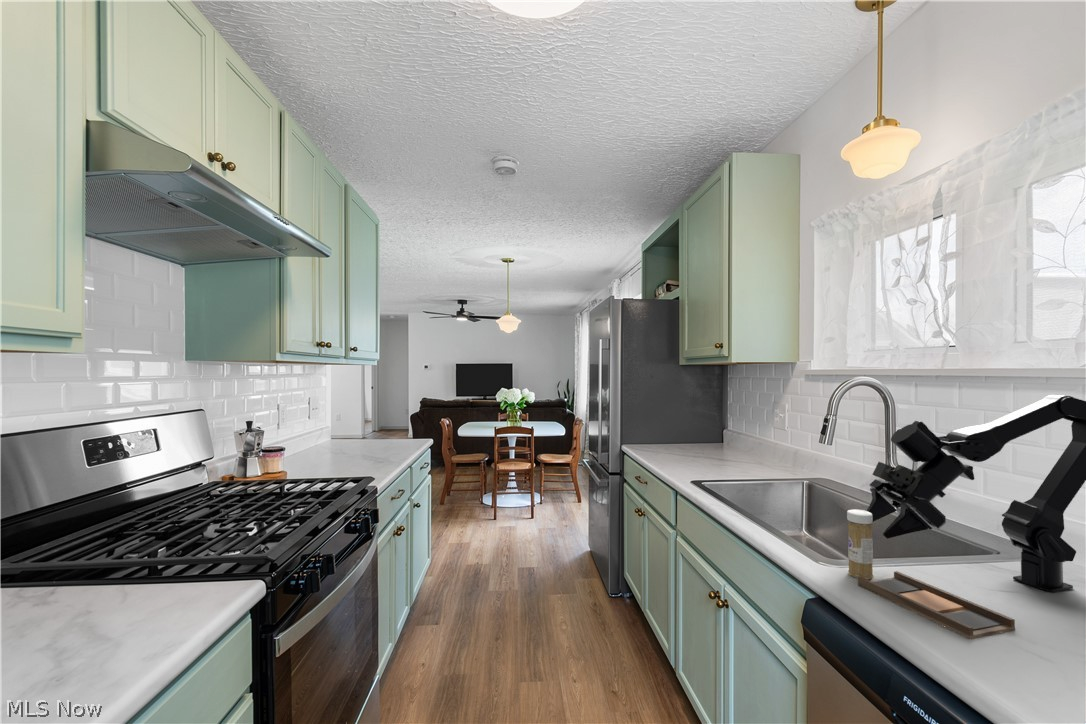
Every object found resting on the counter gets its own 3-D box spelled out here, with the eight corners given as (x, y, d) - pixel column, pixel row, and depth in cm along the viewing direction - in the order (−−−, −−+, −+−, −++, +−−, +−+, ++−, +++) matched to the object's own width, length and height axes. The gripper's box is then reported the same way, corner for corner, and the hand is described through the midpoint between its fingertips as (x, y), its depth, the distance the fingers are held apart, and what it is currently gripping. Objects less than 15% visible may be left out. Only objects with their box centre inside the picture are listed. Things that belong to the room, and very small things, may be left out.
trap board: (897, 579, 104) (896, 571, 104) (1014, 629, 84) (1014, 619, 84) (857, 585, 102) (857, 576, 102) (969, 638, 82) (969, 628, 82)
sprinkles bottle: (843, 572, 108) (841, 509, 109) (863, 571, 109) (861, 508, 109) (858, 581, 104) (857, 515, 104) (879, 579, 104) (877, 514, 105)
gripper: (878, 443, 115) (826, 490, 116) (926, 457, 96) (864, 513, 98) (917, 479, 113) (864, 526, 115) (974, 500, 95) (910, 556, 97)
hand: (873, 529), depth 106 cm, fingers open, 9 cm apart
